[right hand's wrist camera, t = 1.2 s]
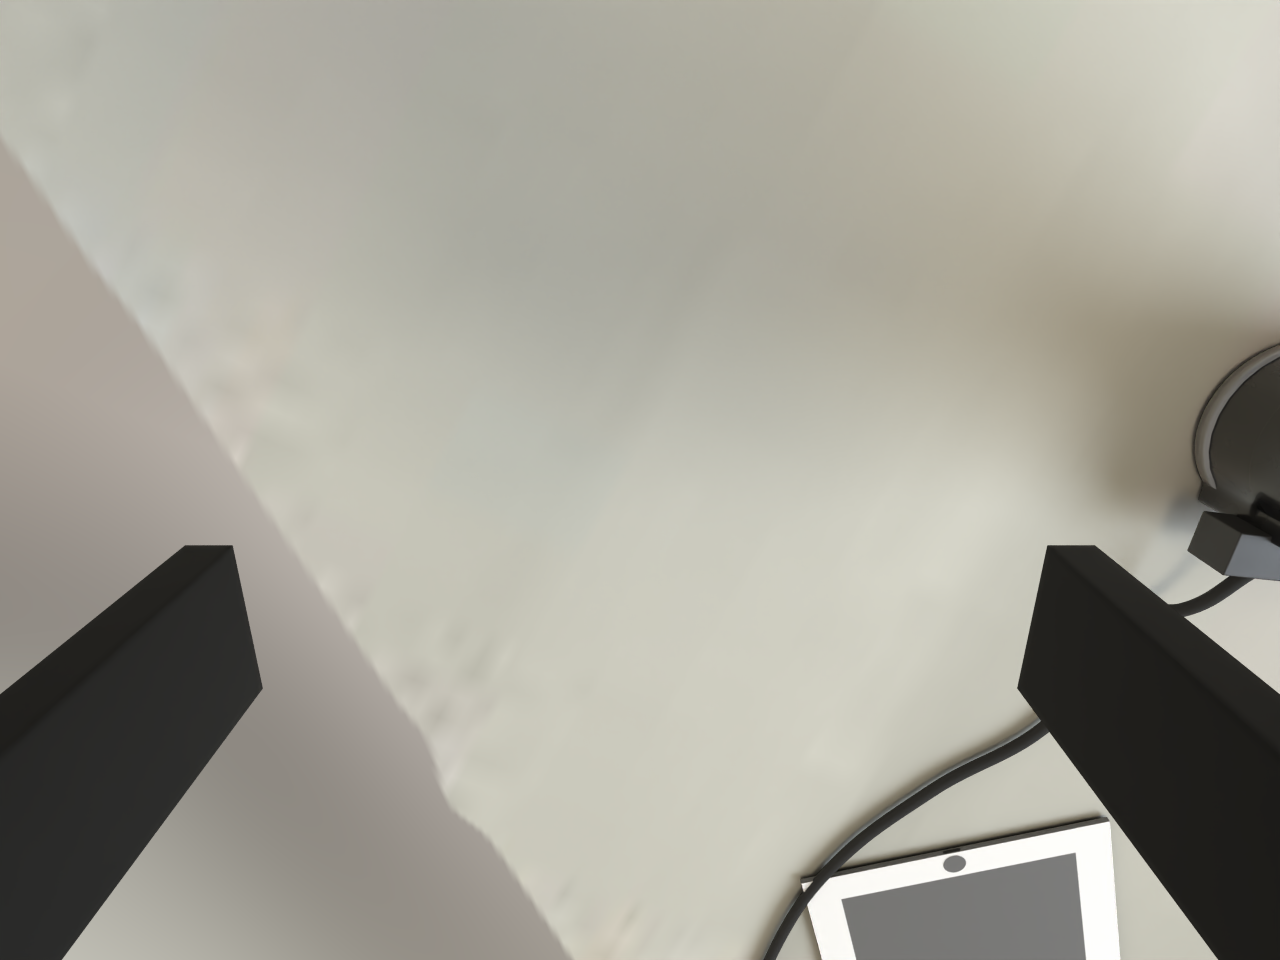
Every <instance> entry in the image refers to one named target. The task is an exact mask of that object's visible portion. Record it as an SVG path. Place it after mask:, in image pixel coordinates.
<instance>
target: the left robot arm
mask: <svg viewBox="0 0 1280 960" xmlns="http://www.w3.org/2000/svg"><path fill="white" fill-rule="evenodd" d="M1195 460H1196V465H1197V469H1198V472H1199V474H1200V476H1201V478H1202V480H1203V482H1204V483H1203V488H1202V491H1201V493H1200V496H1199V501H1200V502H1201V503H1203V504H1205V505H1207V506H1208V507H1210V508H1212V509H1214V510H1215V511H1217V512H1219V513H1216V512H1207V511H1204V512H1203V514H1202V516H1201V518H1200V521H1199V523H1198V526H1197V528H1196V531H1195V533H1194V536H1193V538H1192V540H1191V543H1190V545H1189V548H1188V552H1190V553H1191V554H1193V555H1194V556H1196V557H1197V558H1199V559H1200V560H1202V561H1203V562H1205V563H1206V564H1207V565H1209V566H1210V567H1212V568H1213V569H1215V570H1216V571H1218V572H1219V573H1221V574H1222V575H1226V576H1229V577H1228V578H1226V579H1225V580H1224V581H1222V582H1221V583H1219V584H1218V585H1217V586H1215V587H1214V588H1212V589H1211V590H1209V591H1208V592H1206V593H1204V594H1202V595H1200V596H1199V597H1196V598H1194V599H1192V600H1189V601H1186V602H1183V603H1180V604H1168V605H1169V606H1171V607H1172V608H1173V609H1174V610H1176V611H1177V612H1178V613H1179V614H1181V615H1182V616H1183V617H1185V616H1189V615H1192V614H1195V613H1198V612H1201V611H1203V610H1206V609H1208V608H1210V607H1212V606H1214V605H1215V604H1217V603H1219V602H1221V601H1222V600H1224V599H1225V598H1227V597H1228V596H1230V595H1231V594H1232V593H1234V592H1235V591H1237V590H1238V589H1239V588H1241V587H1242V586H1244V585H1245V584H1247V583H1248V582H1250V581H1251V580H1253V579H1254V578H1255V579H1265V580H1274V581H1280V345H1278V346H1275V347H1273V348H1270V349H1268V350H1266V351H1264V352H1262V353H1260V354H1258V355H1257V356H1255V357H1253V358H1251V359H1250V360H1249V361H1247V362H1246V363H1244V364H1243V365H1242V366H1240V367H1239V368H1238V369H1237V370H1235V371H1234V372H1233V373H1232V374H1231V375H1230V376H1229V377H1228V378H1227V379H1226V380H1225V381H1224V382H1223V383H1222V384H1221V386H1220V387H1219V388H1218V389H1217V391H1216V392H1215V393H1214V395H1213V396H1212V398H1211V399H1210V401H1209V402H1208V404H1207V406H1206V408H1205V410H1204V412H1203V414H1202V416H1201V419H1200V422H1199V425H1198V428H1197V432H1196V438H1195ZM1048 732H1049V731H1048V729H1047V728H1046V726H1045V725H1044V724H1043V722H1042V721H1041V722H1039V723H1038V724H1037V725H1036V726H1034V727H1033V728H1032V729H1030V730H1029V731H1027V732H1026V733H1024V734H1023V735H1021V736H1020V737H1018V738H1016V739H1015V740H1013V741H1011V742H1009V743H1008V744H1006V745H1004V746H1002V747H1000V748H998V749H996V750H994V751H992V752H990V753H988V754H986V755H984V756H982V757H979V758H977V759H975V760H973V761H971V762H969V763H967V764H965V765H963V766H961V767H959V768H957V769H955V770H953V771H951V772H950V773H948V774H946V775H944V776H943V777H941V778H939V779H937V780H936V781H934V782H933V783H931V784H930V785H928V786H927V787H925V788H924V789H922V790H921V791H919V792H918V793H916V794H915V795H913V796H912V797H910V798H909V799H907V800H906V801H904V802H903V803H901V804H900V805H898V806H897V807H895V808H894V809H892V810H891V811H889V812H888V813H886V814H885V815H883V816H882V817H881V818H879V819H878V820H876V821H875V822H874V823H872V824H871V825H870V826H868V827H867V828H866V829H865V830H863V831H862V832H861V833H860V834H858V835H857V836H856V837H855V838H854V839H852V840H851V841H850V842H849V843H848V844H847V845H846V846H845V847H844V848H842V849H841V850H840V851H839V852H838V853H837V854H836V855H835V856H834V857H833V858H832V859H831V860H830V861H829V862H828V863H827V864H826V865H825V866H824V867H823V869H822V870H821V871H820V872H819V873H818V874H817V875H816V876H815V877H814V879H813V882H812V883H811V884H810V886H809V887H808V888H807V889H806V890H805V892H804V891H803V892H802V893H801V895H800V896H799V897H798V899H797V900H796V902H795V903H794V905H793V906H792V908H791V909H790V911H789V912H788V914H787V916H786V917H785V919H784V921H783V923H782V924H781V926H780V928H779V930H778V932H777V933H776V935H775V937H774V939H773V941H772V943H771V945H770V947H769V949H768V951H767V953H766V955H765V958H764V960H776V958H777V956H778V954H779V952H780V950H781V948H782V946H783V944H784V942H785V940H786V938H787V937H788V935H789V933H790V931H791V929H792V928H793V926H794V924H795V923H796V921H797V919H798V918H799V916H800V915H801V913H802V912H803V910H804V909H805V907H806V906H807V904H808V903H809V902H810V900H811V899H812V898H813V897H814V895H815V894H816V893H817V892H818V891H819V889H820V888H821V887H822V886H823V885H824V884H825V883H826V882H827V880H828V879H829V878H830V877H831V876H832V875H833V874H834V873H835V872H836V871H837V870H838V869H839V868H840V867H841V866H842V865H843V864H844V863H845V862H846V861H847V860H848V859H849V858H851V857H852V856H853V855H854V854H855V853H856V852H857V851H858V850H860V849H861V848H862V847H863V846H864V845H866V844H867V843H868V842H869V841H871V840H872V839H873V838H874V837H876V836H877V835H878V834H880V833H881V832H882V831H884V830H885V829H887V828H888V827H890V826H891V825H892V824H894V823H895V822H897V821H898V820H900V819H901V818H903V817H904V816H906V815H907V814H909V813H910V812H912V811H913V810H915V809H916V808H918V807H919V806H921V805H922V804H924V803H925V802H927V801H928V800H930V799H931V798H933V797H934V796H936V795H938V794H939V793H941V792H942V791H944V790H946V789H947V788H949V787H951V786H953V785H954V784H956V783H958V782H960V781H962V780H964V779H966V778H968V777H970V776H972V775H974V774H976V773H978V772H980V771H982V770H984V769H986V768H988V767H990V766H993V765H995V764H997V763H999V762H1001V761H1003V760H1005V759H1007V758H1009V757H1011V756H1013V755H1015V754H1016V753H1018V752H1020V751H1022V750H1023V749H1025V748H1027V747H1028V746H1030V745H1032V744H1033V743H1035V742H1036V741H1038V740H1039V739H1040V738H1042V737H1043V736H1044V735H1046V734H1047V733H1048Z"/></svg>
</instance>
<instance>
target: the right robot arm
mask: <svg viewBox="0 0 1280 960" xmlns="http://www.w3.org/2000/svg"><path fill="white" fill-rule="evenodd" d="M262 689H263V688H262V683H261V678H260V673H259V668H258V664H257V659H256V654H255V649H254V645H253V640H252V635H251V631H250V626H249V621H248V616H247V611H246V607H245V602H244V597H243V592H242V588H241V583H240V578H239V573H238V569H237V564H236V559H235V554H234V550H233V546H232V545H185V546H184V547H183V548H181V549H180V550H179V551H178V552H176V553H175V554H174V555H173V556H171V557H170V558H169V559H168V560H166V561H165V562H164V563H163V564H161V565H160V566H159V567H158V568H157V569H155V570H154V571H153V572H151V573H150V574H149V575H148V576H147V577H145V578H144V579H143V580H142V581H140V582H139V583H138V584H137V585H135V586H134V587H133V588H132V589H130V590H129V591H128V592H127V593H125V594H124V595H123V596H122V597H121V598H119V599H118V600H117V601H115V602H114V603H113V604H112V605H111V606H109V607H108V608H107V609H106V610H104V611H103V612H102V613H101V614H99V615H98V616H97V617H96V618H94V619H93V620H92V621H91V622H89V623H88V624H87V625H86V626H84V627H83V628H82V629H81V630H79V631H78V632H77V633H76V634H75V635H73V636H72V637H71V638H70V639H68V640H67V641H66V642H65V643H63V644H62V645H61V646H60V647H58V648H57V649H56V650H55V651H53V652H52V653H51V654H50V655H48V656H47V657H46V658H45V659H43V660H42V661H41V662H40V663H39V664H37V665H36V666H35V667H34V668H32V669H31V670H30V671H29V672H27V673H26V674H25V675H24V676H22V677H21V678H20V679H19V680H17V681H16V682H15V683H14V684H12V685H11V686H10V687H9V688H8V689H6V690H5V691H4V692H3V693H1V694H0V960H62V959H63V957H64V956H65V955H66V953H67V952H68V951H69V949H70V948H71V946H72V945H73V944H74V943H75V941H76V940H77V938H78V937H79V936H80V934H81V933H82V932H83V930H84V929H85V928H86V926H87V925H88V924H89V922H90V921H91V920H92V918H93V917H94V915H95V914H96V913H97V911H98V910H99V909H100V907H101V906H102V905H103V903H104V902H105V901H106V899H107V898H108V897H109V895H110V894H111V893H112V891H113V890H114V888H115V887H116V886H117V884H118V883H119V882H120V880H121V879H122V878H123V876H124V875H125V874H126V872H127V871H128V870H129V868H130V867H131V866H132V864H133V863H134V861H135V860H136V859H137V857H138V856H139V855H140V853H141V852H142V851H143V849H144V848H145V847H146V845H147V844H148V843H149V841H150V840H151V838H152V837H153V836H154V834H155V833H156V832H157V830H158V829H159V828H160V826H161V825H162V824H163V822H164V821H165V820H166V818H167V817H168V815H169V814H170V813H171V811H172V810H173V809H174V807H175V806H176V805H177V803H178V802H179V801H180V799H181V798H182V797H183V795H184V794H185V793H186V791H187V790H188V789H189V787H190V786H191V785H192V783H193V782H194V780H195V779H196V778H197V776H198V775H199V774H200V772H201V771H202V770H203V768H204V767H205V766H206V764H207V763H208V762H209V760H210V759H211V757H212V756H213V755H214V753H215V752H216V751H217V749H218V748H219V747H220V745H221V744H222V743H223V741H224V740H225V739H226V737H227V736H228V735H229V733H230V732H231V730H232V729H233V728H234V726H235V725H236V724H237V722H238V721H239V720H240V718H241V717H242V716H243V714H244V713H245V712H246V710H247V709H248V708H249V706H250V705H251V704H252V702H253V701H254V699H255V698H256V697H257V695H258V694H259V693H260V691H261V690H262ZM1017 689H1018V690H1019V691H1020V693H1021V694H1022V695H1023V697H1024V698H1025V699H1026V701H1027V702H1028V704H1029V705H1030V706H1031V708H1032V709H1033V710H1034V712H1035V713H1036V714H1037V716H1038V717H1039V718H1040V720H1041V721H1042V722H1043V724H1044V725H1045V726H1046V728H1047V729H1048V731H1049V732H1050V733H1051V735H1052V736H1053V737H1054V739H1055V740H1056V741H1057V743H1058V744H1059V745H1060V747H1061V748H1062V749H1063V751H1064V752H1065V753H1066V755H1067V756H1068V758H1069V759H1070V760H1071V762H1072V763H1073V764H1074V766H1075V767H1076V768H1077V770H1078V771H1079V772H1080V774H1081V775H1082V776H1083V778H1084V779H1085V780H1086V782H1087V783H1088V785H1089V786H1090V787H1091V789H1092V790H1093V791H1094V793H1095V794H1096V795H1097V797H1098V798H1099V799H1100V801H1101V802H1102V803H1103V805H1104V806H1105V807H1106V809H1107V810H1108V812H1109V813H1110V814H1111V816H1112V817H1113V818H1114V820H1115V821H1116V822H1117V824H1118V825H1119V826H1120V828H1121V829H1122V830H1123V832H1124V833H1125V835H1126V836H1127V837H1128V839H1129V840H1130V841H1131V843H1132V844H1133V845H1134V847H1135V848H1136V849H1137V851H1138V852H1139V853H1140V855H1141V856H1142V857H1143V859H1144V860H1145V862H1146V863H1147V864H1148V866H1149V867H1150V868H1151V870H1152V871H1153V872H1154V874H1155V875H1156V876H1157V878H1158V879H1159V880H1160V882H1161V883H1162V884H1163V886H1164V887H1165V889H1166V890H1167V891H1168V893H1169V894H1170V895H1171V897H1172V898H1173V899H1174V901H1175V902H1176V903H1177V905H1178V906H1179V907H1180V909H1181V910H1182V911H1183V913H1184V914H1185V916H1186V917H1187V918H1188V920H1189V921H1190V922H1191V924H1192V925H1193V926H1194V928H1195V929H1196V930H1197V932H1198V933H1199V934H1200V936H1201V937H1202V938H1203V940H1204V941H1205V943H1206V944H1207V945H1208V947H1209V948H1210V949H1211V951H1212V952H1213V953H1214V955H1215V956H1216V957H1217V959H1218V960H1280V694H1279V693H1277V692H1276V691H1275V690H1274V689H1273V688H1271V687H1270V686H1269V685H1268V684H1266V683H1265V682H1264V681H1263V680H1261V679H1260V678H1259V677H1258V676H1256V675H1255V674H1254V673H1253V672H1251V671H1250V670H1249V669H1248V668H1246V667H1245V666H1244V665H1243V664H1241V663H1240V662H1239V661H1238V660H1237V659H1235V658H1234V657H1233V656H1232V655H1230V654H1229V653H1228V652H1227V651H1225V650H1224V649H1223V648H1222V647H1220V646H1219V645H1218V644H1217V643H1215V642H1214V641H1213V640H1212V639H1210V638H1209V637H1208V636H1207V635H1205V634H1204V633H1203V632H1202V631H1201V630H1199V629H1198V628H1197V627H1196V626H1194V625H1193V624H1192V623H1191V622H1189V621H1188V620H1187V619H1186V618H1184V617H1183V616H1182V615H1181V614H1179V613H1178V612H1177V611H1176V610H1174V609H1173V608H1172V607H1171V606H1169V605H1168V604H1167V603H1166V602H1165V601H1163V600H1162V599H1161V598H1160V597H1158V596H1157V595H1156V594H1155V593H1153V592H1152V591H1151V590H1150V589H1148V588H1147V587H1146V586H1145V585H1143V584H1142V583H1141V582H1140V581H1138V580H1137V579H1136V578H1135V577H1133V576H1132V575H1131V574H1130V573H1129V572H1127V571H1126V570H1125V569H1124V568H1122V567H1121V566H1120V565H1119V564H1117V563H1116V562H1115V561H1114V560H1112V559H1111V558H1110V557H1109V556H1107V555H1106V554H1105V553H1104V552H1102V551H1101V550H1100V549H1099V548H1097V547H1096V546H1095V545H1047V550H1046V554H1045V559H1044V564H1043V569H1042V573H1041V578H1040V583H1039V588H1038V592H1037V597H1036V602H1035V607H1034V611H1033V616H1032V621H1031V626H1030V630H1029V635H1028V640H1027V645H1026V649H1025V654H1024V659H1023V664H1022V668H1021V673H1020V678H1019V683H1018V687H1017Z"/></svg>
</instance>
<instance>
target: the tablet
mask: <svg viewBox="0 0 1280 960" xmlns="http://www.w3.org/2000/svg"><path fill="white" fill-rule="evenodd" d="M814 877H815V876H813V877H808V878H804V879H801V884H802V888H803V891H804V892H805V890H806V889H807V888H808V887H809V886H810V884H811V883H812V882H813V879H814ZM807 906H808V910H809V913H810V917H811V921H812V924H813V928H814V932H815V935H816V939H817V943H818V946H819V950H820V954H821V957H822V960H1120V950H1119V937H1118V924H1117V911H1116V898H1115V884H1114V871H1113V858H1112V845H1111V831H1110V821H1109V819H1108V818H1107V817H1104V818H1099V819H1094V820H1089V821H1084V822H1080V823H1075V824H1070V825H1065V826H1060V827H1055V828H1050V829H1045V830H1040V831H1035V832H1030V833H1025V834H1020V835H1015V836H1011V837H1006V838H1001V839H996V840H991V841H986V842H981V843H976V844H971V845H966V846H961V847H956V848H951V849H946V850H942V851H937V852H932V853H927V854H922V855H917V856H912V857H907V858H902V859H897V860H892V861H887V862H882V863H877V864H873V865H868V866H863V867H858V868H853V869H848V870H843V871H838V872H835V873H834V874H833V875H832V876H831V877H830V878H829V879H828V880H827V882H826V883H825V884H824V885H823V886H822V887H821V888H820V889H819V891H818V892H817V893H816V894H815V895H814V897H813V898H812V899H811V900H810V902H809V903H808V904H807Z"/></svg>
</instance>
